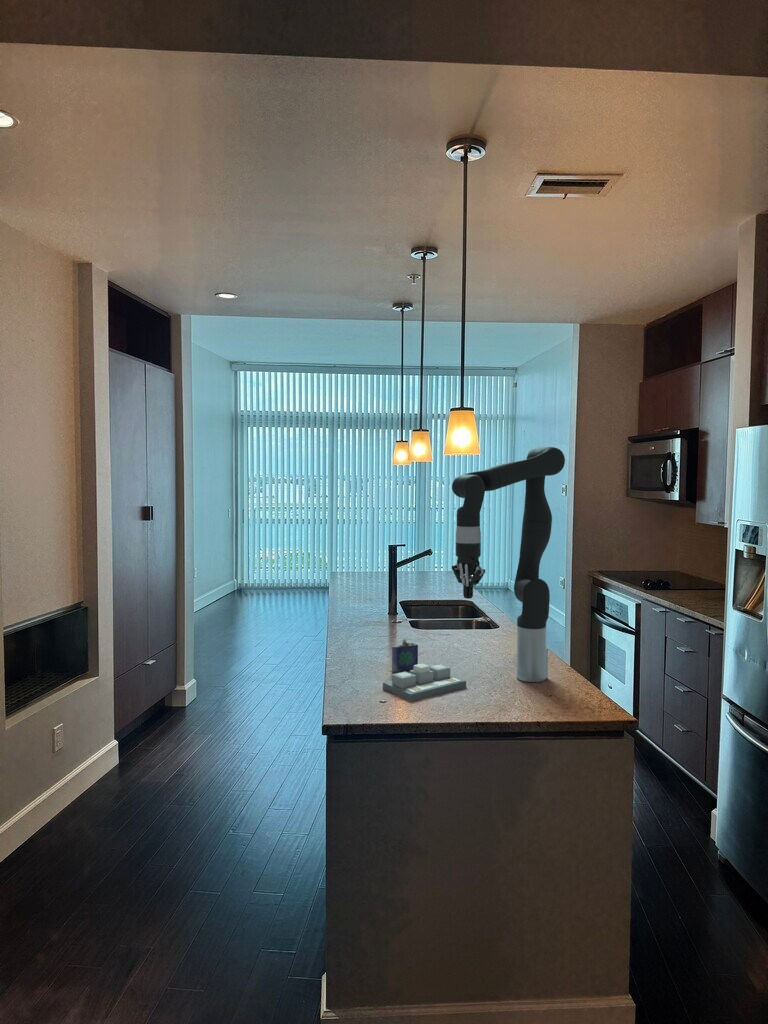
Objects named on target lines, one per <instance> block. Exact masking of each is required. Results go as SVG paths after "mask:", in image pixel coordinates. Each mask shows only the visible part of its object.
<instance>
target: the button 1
mask: <svg viewBox="0 0 768 1024" xmlns="http://www.w3.org/2000/svg"><path fill="white" fill-rule="evenodd" d="M408 673H409V672H408ZM408 673H406V672H404V673H400V672H399V674H396V673H395V674H396V675H397V676H399V677H402V678H404V677H409V676H412V675H411V674H408Z"/></svg>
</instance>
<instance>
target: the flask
mask: <svg viewBox="0 0 768 1024" xmlns="http://www.w3.org/2000/svg"><path fill="white" fill-rule="evenodd" d="M401 641H402V643H401V644H395V645H392V647H391V671H392V673H393V674H396V673H401V672H408V673H410V670H414V665H417V664H419V657H418V656H419V645H418V644H417V643H414V642H407V639H402V640H401Z"/></svg>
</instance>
